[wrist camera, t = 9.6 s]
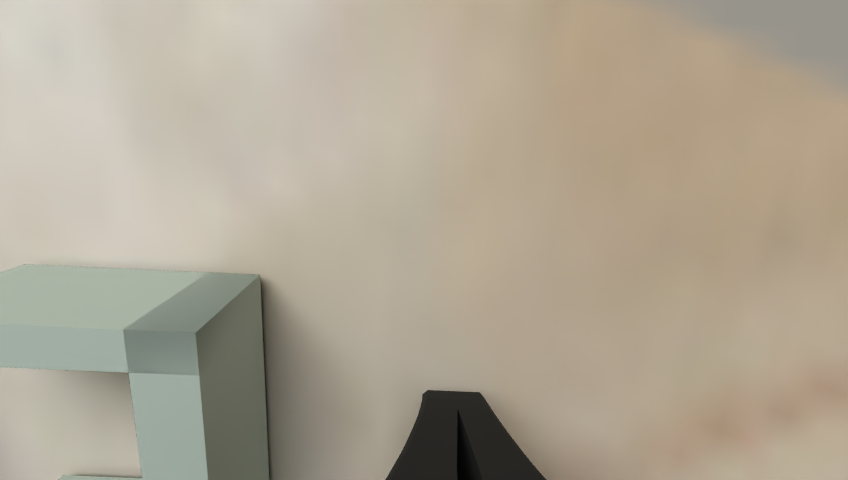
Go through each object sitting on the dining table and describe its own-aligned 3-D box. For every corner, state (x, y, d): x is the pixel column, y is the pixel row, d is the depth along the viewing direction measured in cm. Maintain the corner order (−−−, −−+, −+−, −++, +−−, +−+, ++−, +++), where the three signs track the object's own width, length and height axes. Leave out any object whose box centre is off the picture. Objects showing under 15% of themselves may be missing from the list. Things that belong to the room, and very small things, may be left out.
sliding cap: (270, 507, 12) (221, 630, 9) (68, 500, 12) (-49, 621, 9) (259, 274, 10) (195, 332, 7) (25, 263, 10) (-133, 318, 7)
